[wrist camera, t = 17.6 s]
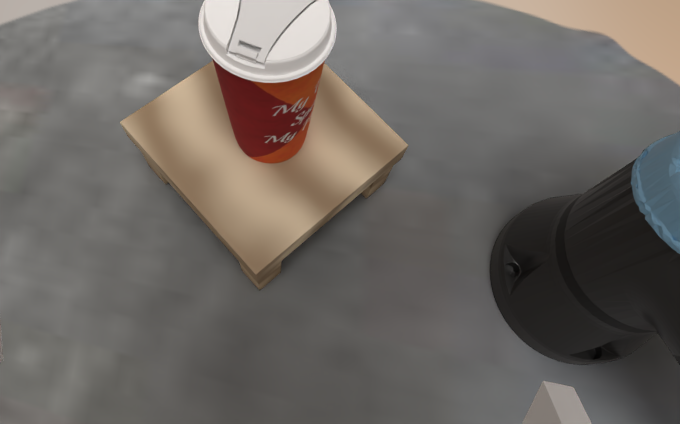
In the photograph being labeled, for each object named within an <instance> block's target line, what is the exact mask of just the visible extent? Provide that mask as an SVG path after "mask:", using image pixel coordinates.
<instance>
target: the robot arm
mask: <svg viewBox="0 0 680 424" xmlns="http://www.w3.org/2000/svg"><path fill="white" fill-rule="evenodd" d="M490 273H491V283H492V288H493V292H494V296H495V299H496V301H497V304H498V306H499V308H500V310H501V312H502V314H503V316H504V318H505V319H506V321H507V322H508V324H509V325H510V327H511V328H512V329H513V330H514V331H515V333H516V334H517V335H518V336H519V337H520V338H521V339H522V340H523V341H525V342H526V343H527V344H528V345H529V346H531V347H532V348H533V349H535V350H537V351H538V352H540V353H541V354H543V355H545V356H547V357H550V358H552V359H555V360H557V361H561V362H564V363H569V364H577V365H588V364H597V363H605V362H610V361H614V360H617V359H620V358H622V357H625V356H627V355H629V354H631V353H632V352H634V351H635V350H637V349H638V348H639V347H640V346H642V345H643V344H644V343H645V342H646V341H648V340H649V339H650V338H651V337H652V336H654V335H655V334H656V333H657V332H658V333H659V335H660V336H661V338H662V339H663V341H664V342H665V344H666V345H667V347H668V348H669V350H670V351H671V353H672V354H673V356H674V357H675V358H676V360H677V361H678V363H679V364H680V131H679V132H677V133H675V134H672V135H669V136H666V137H663V138H661V139H659V140H657V141H656V142H654V143H652V144H651V145H650V146H648V147H647V148H646V149H645V150H643V152H642V154H641V155H640V156H639V157H638V158H637V159H635V160H634V161H632V162H631V163H629V164H628V165H626V166H625V167H624V168H622V169H620V170H619V171H617V172H616V173H614V174H613V175H611V176H610V177H608V178H606V179H605V180H603V181H602V182H600V183H599V184H597V185H596V186H594V187H593V188H591V189H589V190H588V191H586V192H585V193H584V194H577V195H569V196H561V197H553V198H549V199H545V200H542V201H540V202H537V203H535V204H533V205H531V206H529V207H528V208H526V209H525V210H523V211H522V212H521V213H519V214H518V215H517V216H515V217H514V218H513V219H512V220H511V221H510V222H509V223H508V224H507V225H506V226H505V227H504V228H503V230H502V231H501V233H500V234H499V236H498V238H497V240H496V243H495V245H494V249H493V252H492V257H491V267H490ZM2 360H3V349H2V335H1V321H0V363H1V362H2ZM522 424H592V423H591V421H590V419H589V417H588V415H587V413H586V411H585V409H584V407H583V405H582V403H581V401H580V399H579V397H578V395H577V393H576V391H575V389H574V387H571V386H566V385H561V384H556V383H551V382H547V381H543V382H542V384H541V386H540V388H539V390H538V392H537V394H536V396H535V398H534V400H533V402H532V404H531V406H530V408H529V410H528V412H527V414H526V416H525V418H524V420H523V422H522Z"/></svg>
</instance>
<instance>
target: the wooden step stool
mask: <svg viewBox="0 0 680 424" xmlns="http://www.w3.org/2000/svg"><path fill="white" fill-rule="evenodd" d="M120 123H121V125H122V127H123V129H124V130H125V132H126V134H127V136H128V137H129V138H130V139H131V141H132V142H133V143H134V144H135V145H136V146H137V147H138V148H139V150H140V151H141V152H142V154H143V155H144V157H145V159H146V161H147V163H148V165H149V166H150V167H151V169H152V170H153V171H154V172H155V173H156V174H157V175H158V176H159V178H160V179H161V180H162V181H163V182H164V183H165V184H167V183H170V184H171V186H172V187H173V188H174V189H175V190H176V191H177V192H178V193H179V195H180V196H181V197H182V198H183V199H184V200H185V201H186V202H187V203H188V205H189V206H190V207H191V208H192V209H193V210H194V211H195V212H196V214H197V215H198V216H199V217H200V218H201V219H202V220H203V221H204V223H205V224H206V225H207V226H208V227H209V228H210V229H211V230H212V232H213V233H214V234H215V235H216V236H217V237H218V238H219V239H220V241H221V242H222V243H223V244H224V245H225V246H226V247H227V248H228V250H229V251H230V252H231V253H232V254H233V255H234V256H235V257H236V259H237V260H238V261H239V262H240V266H241V269H242V271H243V272H244V273H245V274H246V275H247V277H248V278H249V279H250V280H251V281H252V282H253V283H254V284H255V286H256V287H257V288H258V289H259V290H261V289H262V288H263V287H264V286H265V285H267V284H268V283H269V282H270V281H271V280H272V279H274V278H275V277H276V276H277V275H278V274H279V273H281V261H282V260H283V259H284V258H285V257H287V256H288V255H289V254H290V253H291V252H292V251H294V250H295V249H296V248H297V247H298V246H299V245H301V244H302V243H303V242H304V241H305V240H306V239H308V238H309V237H310V236H311V235H312V234H314V233H315V232H316V231H317V230H318V229H319V228H321V227H322V226H323V225H324V224H325V223H326V222H328V221H329V220H330V219H331V218H332V217H333V216H335V215H336V214H337V213H338V212H339V211H340V210H342V209H343V208H344V207H345V206H346V205H347V204H349V203H350V202H351V201H352V200H353V199H355V198H356V197H357V196H358V195H359V194H360V193H361V194H362V195H363V196H364V197H365V198H368V197H369V196H370V195H371V194H372V193H373V192H375V191H376V190H377V189H378V188H379V187H380V186H381V185H383V184H384V182H385V180H386V178H387V177H388V175H389V173H390V171H391V169H392V167H393V165H394V164H396V163H397V162H398V161H399V160H400V159H401V158H402V157H403V155H404V153H405V151H406V149H407V147H408V144H407V143H405V142H404V141H403V140H402V139H401V138H400V137H399V136H398V135H397V134H396V133H395V132H394V131H393V130H392V129H391V128H390V127H389V126H388V125H387V124H386V123H385V122H384V121H383V120H382V119H381V118H380V117H379V116H378V115H377V114H376V113H375V112H374V111H373V110H372V109H371V108H370V107H369V106H368V105H367V104H366V103H365V102H364V101H363V100H362V99H361V98H360V97H359V96H357V95H356V94H355V93H354V92H353V91H352V90H351V89H350V88H349V87H348V86H347V85H346V84H345V83H344V82H343V81H342V80H341V79H340V78H339V77H338V76H337V75H336V74H335V73H334V72H333V71H332V70H331V69H330V68H329V67H328V66H327V65H326V64H325V63H324V66H323V70H322V74H321V78H320V82H319V87H318V91H317V95H316V99H315V103H314V107H313V111H312V115H311V119H310V123H309V127H308V131H307V134H306V138H305V141H304V143H303V145H302V147H301V149H300V150H299V151H298V152H297V153H296V154H295V155H294V156H293V157H291V158H290V159H288V160H286V161H283V162H280V163H262V162H259V161H256V160H254V159H252V158H250V157H249V156H247V155H246V154H245V153H244V152H243V151H242V149H241V148H240V146H239V145H238V143H237V140H236V138H235V135H234V132H233V129H232V126H231V122H230V119H229V116H228V112H227V109H226V105H225V102H224V98H223V95H222V91H221V88H220V84H219V80H218V77H217V73H216V70H215V66H214V63H213V61H212V62H210V63H209V64H207V65H206V66H204V67H203V68H201V69H200V70H198V71H197V72H195V73H194V74H192V75H190V76H189V77H187V78H186V79H184V80H183V81H181V82H180V83H178V84H177V85H175V86H174V87H172V88H171V89H169V90H168V91H166V92H165V93H163V94H162V95H160V96H159V97H157V98H156V99H154V100H153V101H151V102H150V103H148V104H147V105H145V106H144V107H142V108H140V109H139V110H137V111H136V112H134V113H133V114H131V115H130V116H128V117H127V118H125V119H124V120H122V121H121V122H120Z"/></svg>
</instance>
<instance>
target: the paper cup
mask: <svg viewBox="0 0 680 424" xmlns="http://www.w3.org/2000/svg"><path fill="white" fill-rule="evenodd" d="M336 30H337V29H336V19H335V16H334V12H333V10H332V8H331V6H330V4H329V1H328V0H205V1H204V3H203V5H202V7H201V10H200V14H199V32H200V37H201V40H202V42H203V45H204V47H205V48H206V50H207V52H208V53H209V55H210V56H211V57H212V59H213V63H214V66H215V70H216V73H217V77H218V80H219V84H220V88H221V91H222V95H223V98H224V102H225V105H226V109H227V112H228V116H229V119H230V122H231V126H232V129H233V132H234V135H235V138H236V140H237V143H238V145H239V146H240V148H241V149H242V151H243V152H244V153H245V154H246V155H247V156H249V157H250V158H252V159H254V160H256V161H259V162H262V163H280V162H283V161H286V160H288V159H290V158H291V157H293V156H294V155H295V154H296V153H297V152H298V151H299V150H300V149H301V147H302V145H303V143H304V141H305V138H306V134H307V131H308V127H309V123H310V119H311V115H312V111H313V107H314V103H315V99H316V95H317V91H318V87H319V82H320V78H321V74H322V70H323V66H324V61H325V59H326V58H327V57H328V55H329V54H330V52H331V50H332V48H333V45H334V42H335V39H336Z"/></svg>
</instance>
